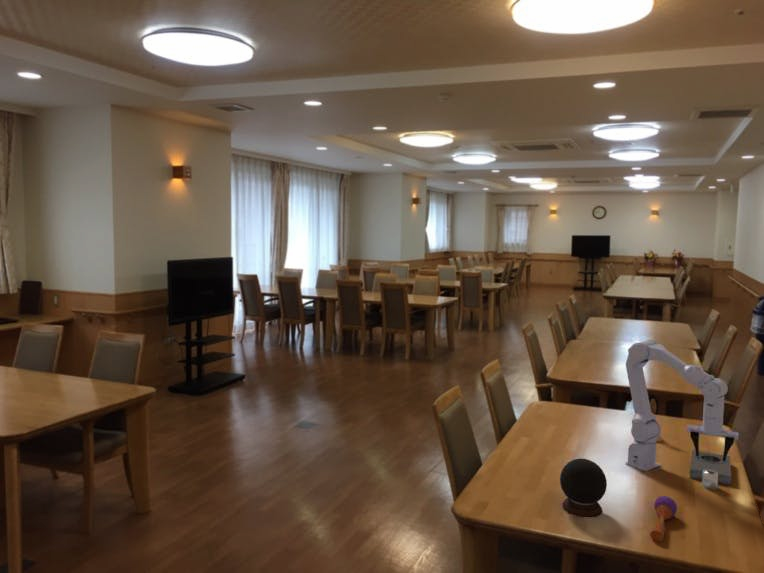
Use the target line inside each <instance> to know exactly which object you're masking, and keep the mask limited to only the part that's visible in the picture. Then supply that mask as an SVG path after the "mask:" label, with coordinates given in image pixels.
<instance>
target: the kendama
mask: <svg viewBox="0 0 764 573" xmlns="http://www.w3.org/2000/svg"><path fill="white" fill-rule="evenodd" d="M654 510H655V512H656V515H657V516H658V517H659V518H658V520H657V522H656V524H655V525H654V527H653V529H652V530H651V532H650V538H651V540H653V541H655V542H659V543H661V542H663V541H664V539H665V520H670V519H671V518H673V517H675V515H676V514H677V511H678V505H677V502H676V501H675V500H674V499H673V498H671V497H670V496H666V495H661V496H659V497H657V498H656V499H655V501H654Z"/></svg>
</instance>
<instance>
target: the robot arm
mask: <svg viewBox="0 0 764 573" xmlns="http://www.w3.org/2000/svg"><path fill="white" fill-rule="evenodd" d="M627 352H628V354H627V358H626V361H625V369H626V374H627V379H628V384H629V385H628V386H629V389H630V390H629V391H630V395H631V401H632V406H633V412H634V415H633V417H632V419H631V429H630V432H631V433H630V434H631V436H632V438H633V442H631V444H630V445H629V446H628V449H627V450H628V451H627V461H626V462H625V465H628V466H630V467H634V468H636V469H639V470H642V471H644V472H647V471H649V470H652V469H655V468H657V467H660V466H661V465H662V464H661V463H659V462H656V460H657V459H656V458H657V457H656V456H657V436H658V435H659V434H660V433H661V425H660V424H659V422H658V420H657V416H656V414H655V415H654V414H653V413H652V412H651V408H650V399H649V393H648V388H647V383H646V378H645V373H644V367H645V366H646V365H647V364H648V363H649V361H660V362H662V363H663V364H665V365H667V366H669V367H671V368H672V369H674V370H676V371H677V372H679V373H680V374H681V377H682V378H683V380H684V381H686V382H688V383H689V384H690V385H692V386H694V387H695V388H696V389H698V390H699V391H701V394H702V395H703V407H702V408H703V409H702V411H703V414H702V424H701V426H700V425H699V426H698V425H689V424H687V426H686V433H688V434H690V436H689V437H690V439H691V442H692V443H693V446H694V450H695V451H696V456H698V455H699V451H700V447H699V442H700V441H699V440H700V435H706V436H710V437H712V436H713V437H719V438H724V447H723V448H724V449H723V454H722V455H723V460H724V461H726V456H728V453H729V451H730V449H731V448H732V447H733V445H734V443H735V441H739V432H737V431H731V430H727V429H723V428H724V412H725V411H724V410H725V395H726V394H727V393H728V390H729V386H728V385H727V382H725V381H724V380H723V379H722V378H719V377H716V378H715V376H714V375H713V374H709V373H707V372H706V371H705V370H703V369H702V367H701V366H699V365H695V364H690V365H689V364H687V363H686V362H684V361H683V360H681V359H680V358H679V357H678V356H676V354H675V355H674V354H673V353H671V352H670V350H668V349H667V348H666V347H664V345H662V344H660V343H658V342H657V341H655V340H653V339H646V340H644V341H641V342H634V343H633V344H631V346H630V347H628V349H627ZM660 435H661V434H660Z"/></svg>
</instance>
